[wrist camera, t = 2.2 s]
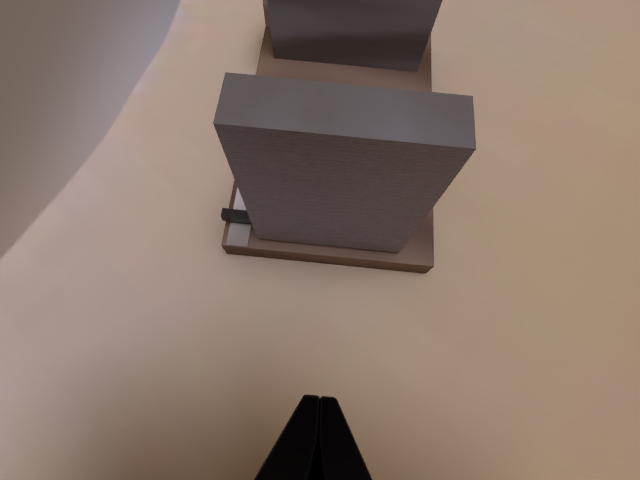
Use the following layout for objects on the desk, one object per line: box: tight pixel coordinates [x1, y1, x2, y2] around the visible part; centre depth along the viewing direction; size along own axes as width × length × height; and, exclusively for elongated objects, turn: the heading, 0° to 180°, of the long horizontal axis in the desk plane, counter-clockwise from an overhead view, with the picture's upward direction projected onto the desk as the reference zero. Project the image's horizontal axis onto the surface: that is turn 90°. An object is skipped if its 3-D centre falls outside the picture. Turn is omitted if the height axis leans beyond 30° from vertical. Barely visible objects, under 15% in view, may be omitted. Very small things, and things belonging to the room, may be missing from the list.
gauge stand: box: [222, 0, 442, 273], centre depth 21 cm, size 18×12×8 cm, turn 174°
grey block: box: [213, 72, 476, 253], centre depth 17 cm, size 6×10×10 cm, turn 84°
